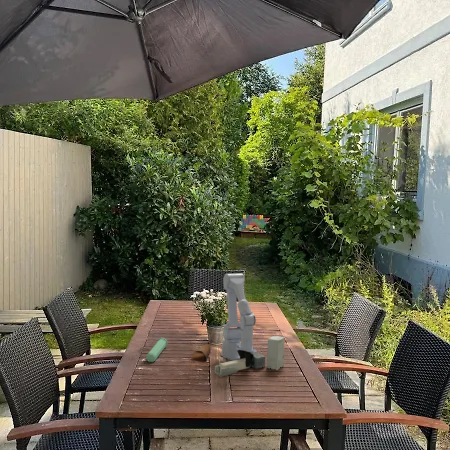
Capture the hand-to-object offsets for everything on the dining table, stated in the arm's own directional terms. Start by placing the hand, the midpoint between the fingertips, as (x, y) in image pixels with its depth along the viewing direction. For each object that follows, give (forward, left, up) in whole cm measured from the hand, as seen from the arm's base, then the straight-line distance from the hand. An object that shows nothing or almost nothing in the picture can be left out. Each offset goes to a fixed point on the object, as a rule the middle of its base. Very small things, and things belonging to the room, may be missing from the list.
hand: (245, 365), depth 238 cm
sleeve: (0, -12, -1) cm, 12 cm away
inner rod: (0, -7, -1) cm, 7 cm away
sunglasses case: (-27, -8, -2) cm, 29 cm away
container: (-40, -28, -2) cm, 49 cm away
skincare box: (+6, +14, -2) cm, 15 cm away
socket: (0, +7, -1) cm, 7 cm away
